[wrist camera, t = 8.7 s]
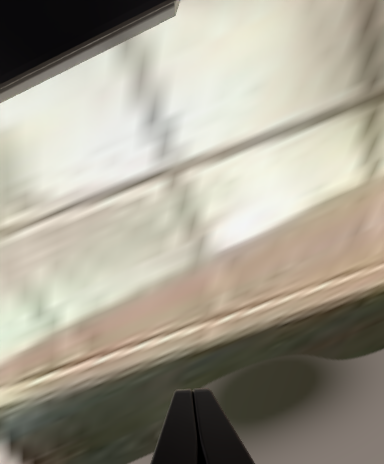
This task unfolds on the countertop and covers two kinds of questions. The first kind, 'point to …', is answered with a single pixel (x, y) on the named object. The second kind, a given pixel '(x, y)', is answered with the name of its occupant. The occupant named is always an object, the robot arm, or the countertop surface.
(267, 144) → the countertop surface
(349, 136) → the countertop surface
